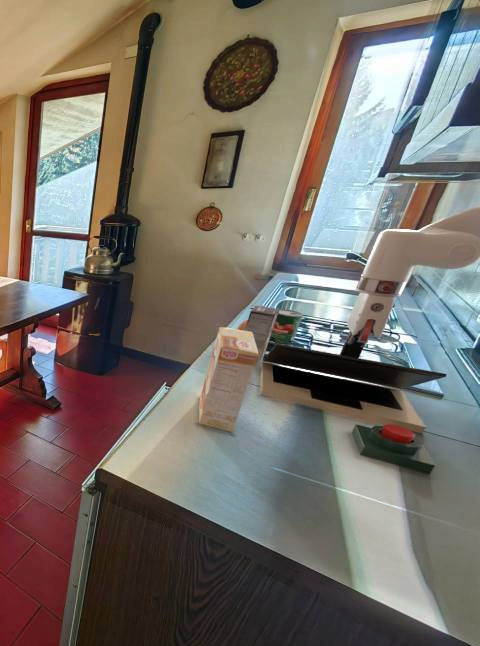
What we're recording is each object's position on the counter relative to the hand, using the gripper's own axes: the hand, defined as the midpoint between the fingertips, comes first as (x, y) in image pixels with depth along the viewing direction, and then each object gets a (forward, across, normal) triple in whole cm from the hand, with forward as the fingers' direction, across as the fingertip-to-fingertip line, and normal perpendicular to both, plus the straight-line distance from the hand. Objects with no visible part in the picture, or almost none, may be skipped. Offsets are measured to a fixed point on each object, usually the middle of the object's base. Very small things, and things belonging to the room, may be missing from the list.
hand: (347, 359), depth 96 cm
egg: (+12, +32, +20) cm, 39 cm away
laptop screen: (+4, +4, 0) cm, 6 cm away
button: (+8, -21, -7) cm, 24 cm away
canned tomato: (+12, +42, +10) cm, 45 cm away
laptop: (+12, +3, 0) cm, 12 cm away
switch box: (+12, -21, -7) cm, 25 cm away
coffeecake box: (+12, -25, +24) cm, 37 cm away
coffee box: (+12, +20, +18) cm, 29 cm away
